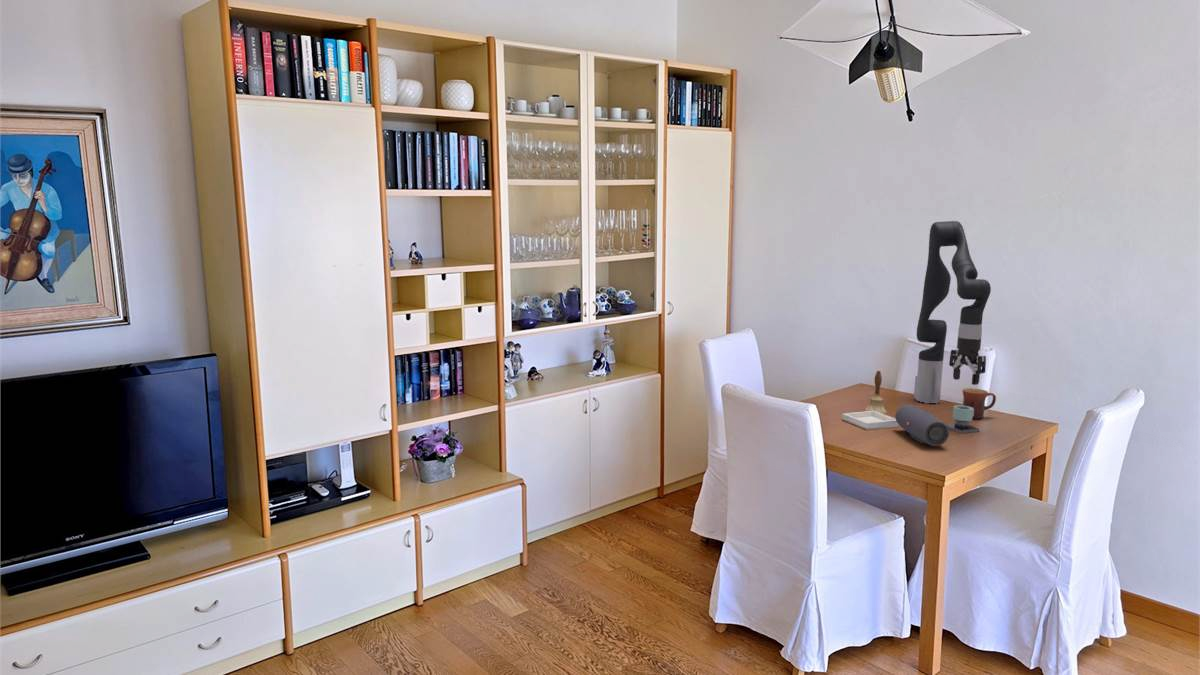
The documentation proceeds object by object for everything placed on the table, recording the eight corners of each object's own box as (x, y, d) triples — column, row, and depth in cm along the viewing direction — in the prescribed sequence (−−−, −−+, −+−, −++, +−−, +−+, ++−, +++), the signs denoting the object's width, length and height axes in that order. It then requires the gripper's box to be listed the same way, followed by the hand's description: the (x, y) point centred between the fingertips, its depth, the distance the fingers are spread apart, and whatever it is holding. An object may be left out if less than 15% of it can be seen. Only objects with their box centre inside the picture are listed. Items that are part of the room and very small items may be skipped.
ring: (948, 417, 296) (949, 406, 295) (964, 415, 298) (965, 404, 298) (962, 421, 290) (963, 410, 289) (978, 419, 293) (979, 408, 292)
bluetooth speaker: (892, 430, 293) (894, 402, 291) (917, 430, 293) (920, 402, 292) (921, 450, 270) (924, 420, 269) (949, 449, 271) (951, 420, 269)
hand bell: (890, 414, 314) (893, 373, 311) (868, 414, 314) (871, 373, 311) (883, 409, 322) (886, 368, 319) (861, 408, 322) (864, 368, 319)
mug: (964, 420, 307) (966, 393, 306) (956, 413, 316) (959, 387, 314) (998, 421, 306) (1000, 394, 304) (989, 415, 315) (991, 388, 313)
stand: (944, 427, 297) (946, 407, 296) (961, 425, 300) (963, 405, 298) (961, 433, 290) (963, 412, 288) (978, 431, 292) (980, 410, 291)
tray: (842, 419, 305) (842, 413, 305) (873, 416, 310) (873, 410, 310) (866, 430, 292) (867, 423, 292) (898, 426, 297) (899, 420, 297)
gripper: (946, 333, 294) (942, 378, 297) (977, 340, 281) (972, 386, 284) (962, 332, 297) (958, 377, 300) (994, 339, 284) (989, 385, 286)
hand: (965, 381), depth 292 cm, fingers open, 8 cm apart
